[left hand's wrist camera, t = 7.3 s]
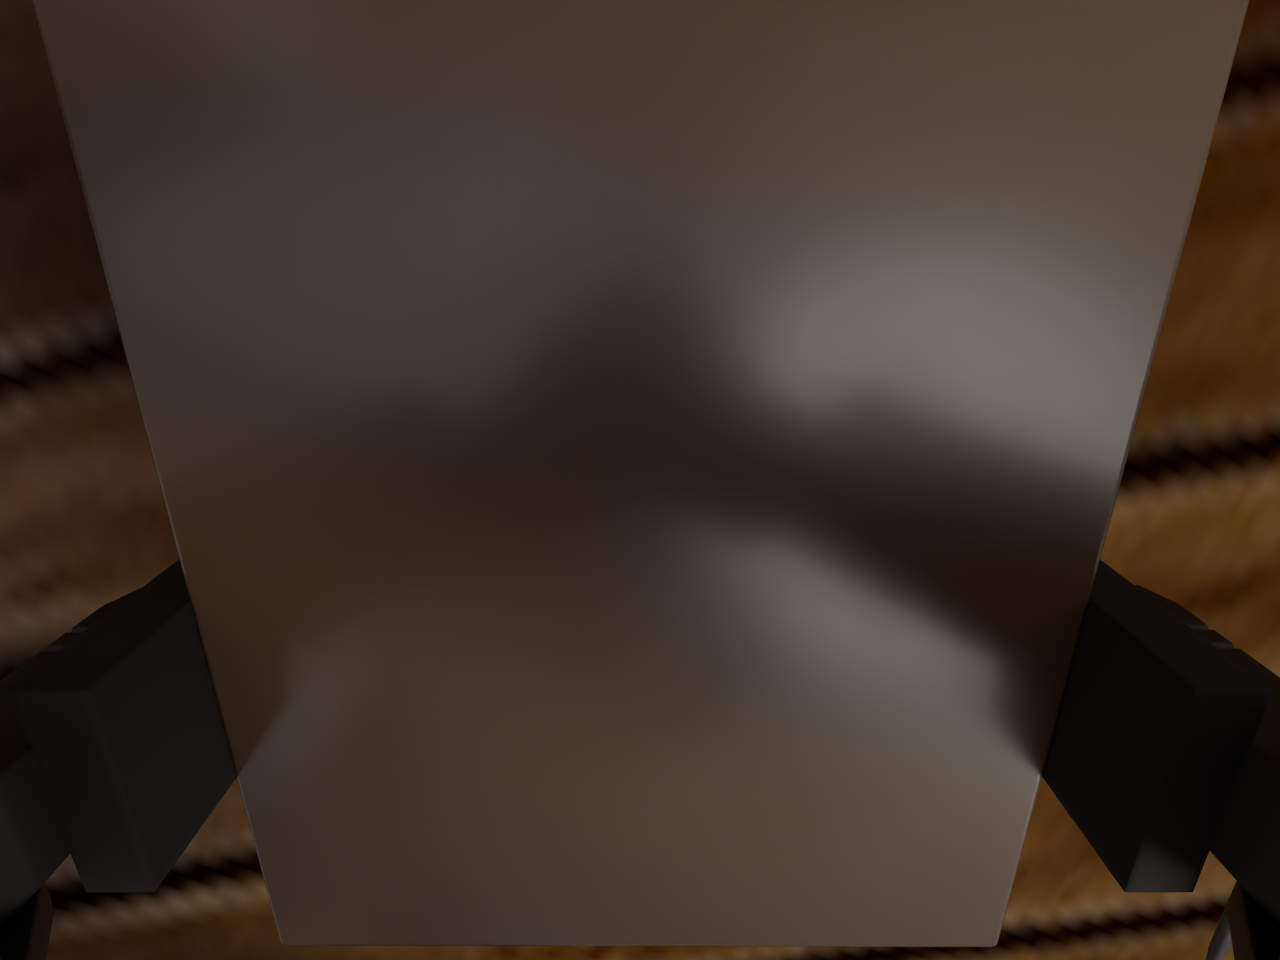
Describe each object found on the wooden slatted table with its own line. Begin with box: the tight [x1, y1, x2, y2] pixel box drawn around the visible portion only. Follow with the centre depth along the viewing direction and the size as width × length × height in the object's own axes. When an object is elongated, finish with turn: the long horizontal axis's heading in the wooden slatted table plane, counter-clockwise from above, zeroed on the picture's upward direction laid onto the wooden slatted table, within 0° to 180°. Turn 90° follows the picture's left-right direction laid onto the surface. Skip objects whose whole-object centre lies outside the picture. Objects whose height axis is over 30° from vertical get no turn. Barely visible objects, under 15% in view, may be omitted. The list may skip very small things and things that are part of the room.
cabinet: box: [32, 0, 1249, 947], centre depth 12 cm, size 18×11×10 cm, turn 0°
